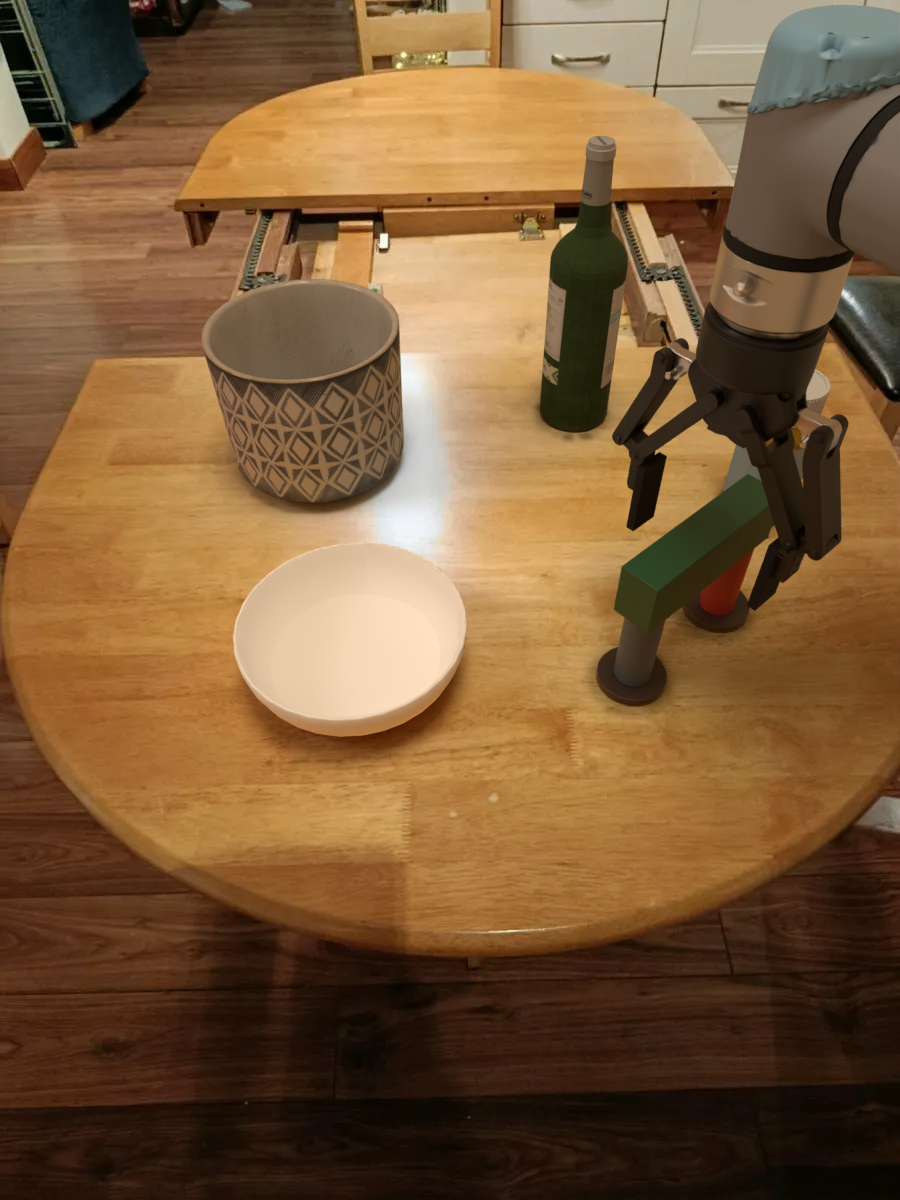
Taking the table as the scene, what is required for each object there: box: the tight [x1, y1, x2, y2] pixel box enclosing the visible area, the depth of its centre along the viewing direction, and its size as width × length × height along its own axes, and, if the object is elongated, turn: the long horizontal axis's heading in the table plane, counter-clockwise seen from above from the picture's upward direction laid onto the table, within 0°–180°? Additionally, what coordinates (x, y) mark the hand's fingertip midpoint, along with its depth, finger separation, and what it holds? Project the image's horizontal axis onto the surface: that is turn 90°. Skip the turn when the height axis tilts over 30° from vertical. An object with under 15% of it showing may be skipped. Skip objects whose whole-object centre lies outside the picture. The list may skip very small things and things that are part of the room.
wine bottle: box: [539, 135, 629, 433], centre depth 89 cm, size 8×8×30 cm
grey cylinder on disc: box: [595, 617, 668, 707], centre depth 71 cm, size 6×6×9 cm
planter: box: [200, 278, 405, 504], centre depth 89 cm, size 19×19×16 cm
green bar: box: [613, 474, 774, 634], centre depth 68 cm, size 4×16×5 cm, turn 132°
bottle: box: [722, 368, 831, 492], centre depth 83 cm, size 7×7×15 cm
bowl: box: [232, 541, 468, 738], centre depth 73 cm, size 20×20×6 cm
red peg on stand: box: [681, 549, 755, 634], centre depth 76 cm, size 6×6×9 cm
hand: (697, 559), depth 69 cm, fingers open, 11 cm apart
